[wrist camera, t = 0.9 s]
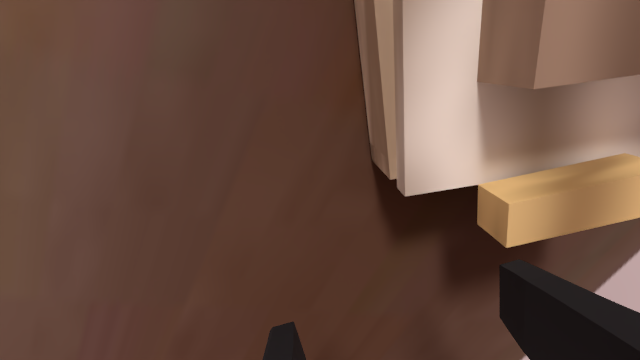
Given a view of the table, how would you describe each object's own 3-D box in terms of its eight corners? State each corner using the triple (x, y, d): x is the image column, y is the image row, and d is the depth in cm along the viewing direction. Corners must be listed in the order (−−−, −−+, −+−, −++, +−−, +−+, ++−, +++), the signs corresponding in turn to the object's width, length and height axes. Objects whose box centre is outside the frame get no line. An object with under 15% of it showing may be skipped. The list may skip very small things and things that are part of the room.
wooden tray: (653, -162, 14) (747, -215, 11) (607, 111, 19) (665, 121, 16) (341, -115, 13) (359, -161, 10) (372, 160, 18) (390, 179, 15)
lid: (759, -170, 12) (979, -273, 8) (648, 198, 17) (750, 237, 14) (389, -145, 11) (451, -252, 7) (398, 242, 16) (435, 297, 12)
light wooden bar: (624, 152, 15) (676, 167, 13) (617, 192, 15) (664, 211, 13) (478, 184, 14) (509, 204, 12) (477, 224, 15) (506, 247, 13)
